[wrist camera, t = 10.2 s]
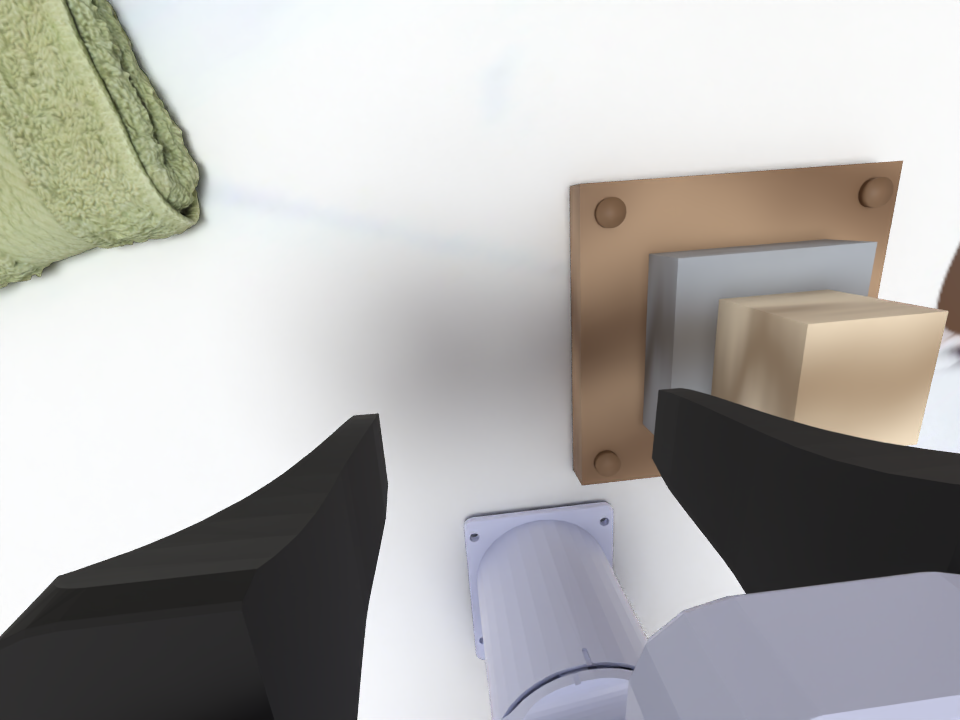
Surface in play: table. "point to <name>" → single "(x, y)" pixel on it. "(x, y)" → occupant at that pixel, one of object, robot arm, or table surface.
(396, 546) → the table surface
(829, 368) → the beech brick
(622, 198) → the tower base
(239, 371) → the table surface
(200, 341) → the table surface
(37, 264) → the washcloth
